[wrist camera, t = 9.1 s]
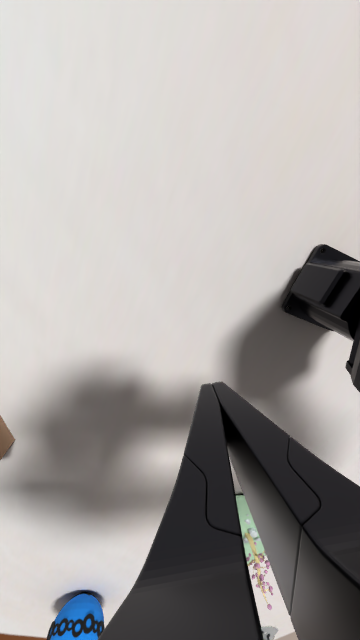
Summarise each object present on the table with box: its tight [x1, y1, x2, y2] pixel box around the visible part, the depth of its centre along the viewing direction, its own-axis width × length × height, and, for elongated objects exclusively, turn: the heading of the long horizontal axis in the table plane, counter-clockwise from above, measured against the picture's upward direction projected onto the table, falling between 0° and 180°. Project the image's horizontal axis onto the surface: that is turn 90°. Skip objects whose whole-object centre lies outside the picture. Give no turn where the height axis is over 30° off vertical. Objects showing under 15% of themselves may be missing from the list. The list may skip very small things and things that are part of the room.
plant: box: [236, 495, 273, 610], centre depth 32 cm, size 25×21×9 cm
